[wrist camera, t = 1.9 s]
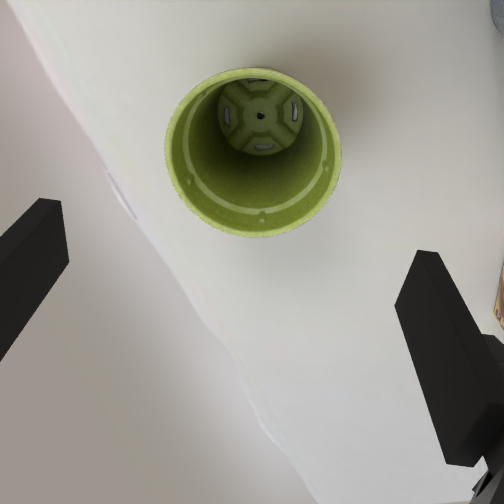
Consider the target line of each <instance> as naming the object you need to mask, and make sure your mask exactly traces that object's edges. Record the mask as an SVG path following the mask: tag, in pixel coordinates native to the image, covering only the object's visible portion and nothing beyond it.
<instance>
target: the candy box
mask: <svg viewBox="0 0 504 504" xmlns="http://www.w3.org/2000/svg"><path fill="white" fill-rule="evenodd" d="M494 315H495V317H496V318H497V320H498V322H499V323H500V325H501V327H502V328H503V330H504V265H503V270H502V275H501V280H500V285H499V290H498V295H497V300H496V305H495V309H494Z"/></svg>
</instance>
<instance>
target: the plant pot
mask: <svg viewBox="0 0 504 504" xmlns="http://www.w3.org/2000/svg"><path fill="white" fill-rule="evenodd" d="M249 78H260V79H267V80H268V81H255V82H251V83H249V82H248V81H247V80H248V79H249ZM292 102H294V103H295V104H296V107H297V112H298V115H297V120H296V121H295V122H293V121H292V112H293V111H292V106H293V105H292ZM226 107H229V118H230V122H231V125H230V126H228V125H227V124H226V123H225V120H224V119H225V118H224V110H225V108H226ZM259 112H260V113H261V112H262V113H264V118H263V119H258V118H257V114H258V113H259ZM271 144H272V145H273V146H272V148H270V149H265V150H257V149H256V148H255V147H254V146H255V145H262V146H264V145H271ZM165 159H166V165H167V169H168V173H169V176H170V179H171V182H172V184H173V186H174V188H175V190H176V192H177V193H178V195H179V196H180V198H181V199H182V201H183V202H184V203H185V205H186V206H187V207H188V208H189V209H190V210H191V211H192V212H193V213H194V214H196V215H197V216H198V217H199V218H200V219H201V220H203V221H204V222H205V223H207V224H209V225H211V226H212V227H214V228H216V229H219V230H221V231H224V232H227V233H230V234H234V235H238V236H243V237H269V236H274V235H278V234H282V233H285V232H287V231H290V230H292V229H294V228H297V227H299V226H300V225H302V224H303V223H305V222H307V221H308V220H309V219H311V218H312V217H313V216H314V215H315V214H316V213H317V212H318V211H319V210H320V209H321V208H322V207H323V206H324V205H325V204H326V202H327V201H328V199H329V198H330V196H331V195H332V193H333V191H334V189H335V186H336V184H337V181H338V178H339V174H340V169H341V162H342V151H341V142H340V137H339V133H338V130H337V127H336V125H335V122H334V120H333V118H332V116H331V114H330V113H329V111H328V109H327V108H326V106H325V105H324V104H323V102H322V101H321V100H320V99H319V98H318V96H317V95H316V94H315V93H314V92H312V91H311V90H310V89H309V88H308V87H307V86H305V85H304V84H302V83H301V82H299V81H298V80H296V79H294V78H292V77H290V76H288V75H286V74H283V73H280V72H278V71H276V70H273V69H269V68H241V69H234V70H229V71H225V72H222V73H219V74H217V75H214V76H212V77H210V78H208V79H206V80H205V81H203V82H202V83H200V84H199V85H197V86H196V87H195V88H194V89H192V90H191V91H190V92H189V93H188V94H187V95H186V96H185V97H184V99H183V100H182V101H181V102H180V104H179V105H178V106H177V108H176V110H175V111H174V113H173V115H172V117H171V120H170V122H169V125H168V129H167V132H166V138H165Z"/></svg>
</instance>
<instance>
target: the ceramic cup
mask: <svg viewBox="0 0 504 504" xmlns="http://www.w3.org/2000/svg"><path fill="white" fill-rule="evenodd" d="M491 12H492V17H493V20H494V23H495V26H496V28H497V29H498V31H499V33H500V34H501V35H502V36H503V38H504V0H491Z"/></svg>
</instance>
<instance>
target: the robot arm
mask: <svg viewBox="0 0 504 504" xmlns="http://www.w3.org/2000/svg"><path fill="white" fill-rule="evenodd" d="M68 263H69V257H68V249H67V242H66V236H65V228H64V221H63V214H62V206H61V201H58V200H51V199H43V198H39V199H38V200H37V201H36V202H35V203H34V204H33V205H32V206H31V207H30V208H29V209H28V210H27V211H26V212H25V213H24V214H23V215H22V216H21V217H20V218H19V219H18V220H17V221H16V222H15V223H14V224H13V225H12V226H11V227H10V228H9V229H8V230H7V231H6V232H5V233H4V234H3V235H2V236H1V237H0V361H1V360H2V358H3V357H4V356H5V354H6V353H7V351H8V350H9V348H10V347H11V345H12V344H13V342H14V341H15V340H16V338H17V337H18V335H19V334H20V333H21V331H22V330H23V328H24V327H25V325H26V324H27V322H28V321H29V319H30V318H31V317H32V315H33V314H34V312H35V311H36V310H37V308H38V307H39V305H40V304H41V302H42V301H43V299H44V298H45V297H46V295H47V294H48V292H49V291H50V289H51V288H52V286H53V285H54V284H55V282H56V281H57V279H58V278H59V276H60V275H61V274H62V272H63V271H64V269H65V268H66V266H67V265H68ZM394 306H395V309H396V312H397V315H398V318H399V321H400V324H401V327H402V330H403V333H404V337H405V340H406V343H407V346H408V349H409V352H410V355H411V358H412V361H413V364H414V367H415V370H416V373H417V376H418V379H419V382H420V385H421V388H422V391H423V394H424V397H425V400H426V403H427V407H428V410H429V413H430V416H431V419H432V422H433V425H434V428H435V431H436V434H437V437H438V440H439V443H440V446H441V449H442V452H443V455H444V458H445V461H446V464H449V465H458V466H466V467H474V466H475V465H476V463H477V462H478V461H479V460H480V458H481V457H482V456H483V457H484V459H485V461H486V464H487V466H488V470H487V471H486V473H485V474H484V475H483V476H482V478H481V479H480V480H479V481H478V483H477V484H476V485H475V486H474V488H473V489H472V490H473V491H474V492H475V493H474V495H473V497H472V499H471V501H470V503H469V504H504V344H502V343H501V342H500V341H499V340H498V339H497V338H496V337H495V336H494V335H486V334H481V332H480V330H479V328H478V326H477V324H476V323H475V321H474V319H473V317H472V315H471V313H470V311H469V310H468V308H467V306H466V304H465V302H464V300H463V298H462V296H461V295H460V293H459V291H458V289H457V287H456V285H455V283H454V282H453V280H452V278H451V276H450V274H449V272H448V270H447V269H446V267H445V265H444V263H443V261H442V259H441V257H440V255H439V254H438V253H437V252H430V251H423V250H417V252H416V255H415V257H414V260H413V262H412V264H411V267H410V269H409V272H408V274H407V276H406V279H405V281H404V284H403V286H402V288H401V291H400V293H399V296H398V298H397V301H396V303H395V305H394Z"/></svg>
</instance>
